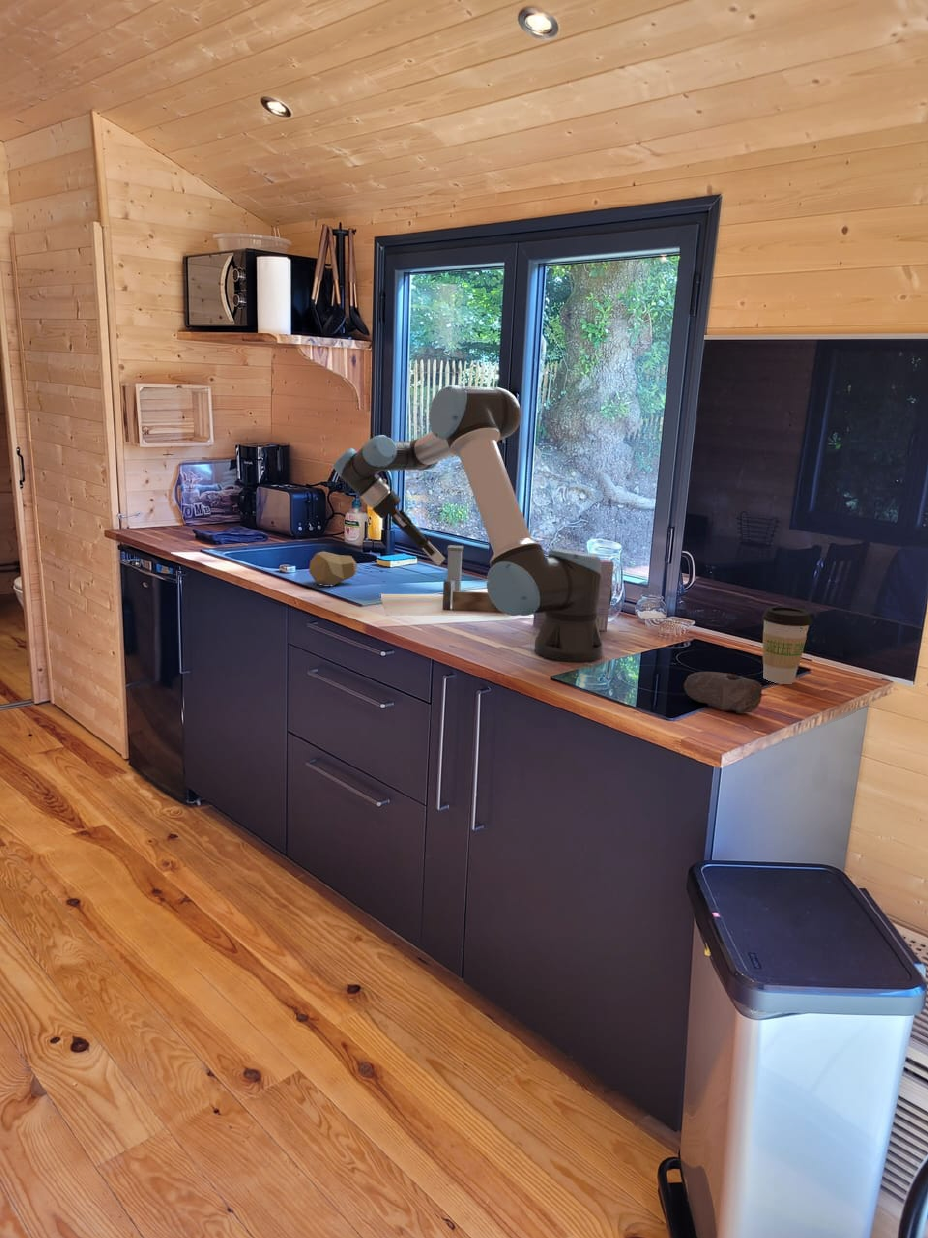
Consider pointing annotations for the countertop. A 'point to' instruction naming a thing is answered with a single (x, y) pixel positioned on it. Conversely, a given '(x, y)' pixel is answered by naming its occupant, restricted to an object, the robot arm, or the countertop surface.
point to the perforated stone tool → (724, 691)
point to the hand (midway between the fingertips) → (441, 561)
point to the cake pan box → (603, 598)
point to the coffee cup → (783, 642)
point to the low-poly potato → (332, 568)
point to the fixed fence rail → (467, 600)
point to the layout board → (422, 605)
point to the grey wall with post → (454, 567)
